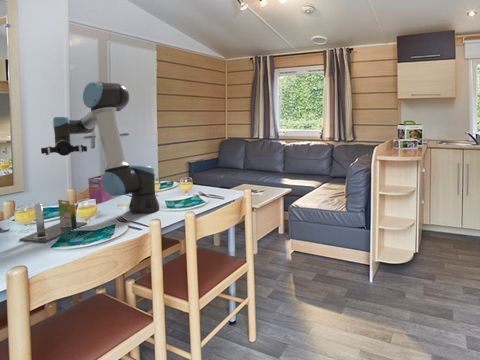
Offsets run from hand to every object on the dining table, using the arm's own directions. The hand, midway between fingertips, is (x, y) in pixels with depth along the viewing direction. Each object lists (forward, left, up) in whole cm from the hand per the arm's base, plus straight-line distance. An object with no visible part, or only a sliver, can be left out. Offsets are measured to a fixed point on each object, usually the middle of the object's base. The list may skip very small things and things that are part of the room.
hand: (65, 151), depth 181 cm
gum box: (+8, -42, -32) cm, 54 cm away
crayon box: (-10, +15, -31) cm, 36 cm away
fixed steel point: (-9, +29, -32) cm, 44 cm away
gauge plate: (-9, +21, -32) cm, 40 cm away
